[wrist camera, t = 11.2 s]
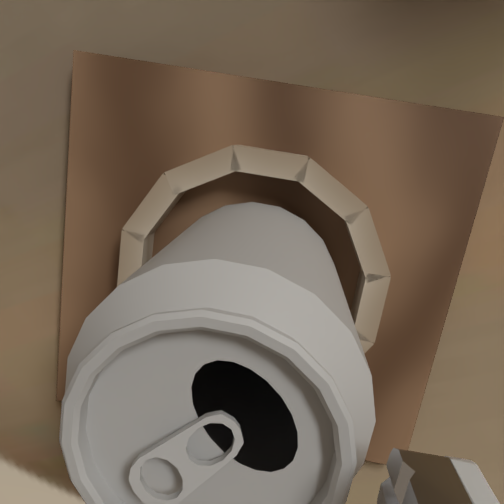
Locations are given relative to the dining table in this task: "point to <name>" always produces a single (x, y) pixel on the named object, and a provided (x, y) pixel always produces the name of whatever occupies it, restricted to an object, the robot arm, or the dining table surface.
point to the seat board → (278, 198)
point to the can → (221, 373)
